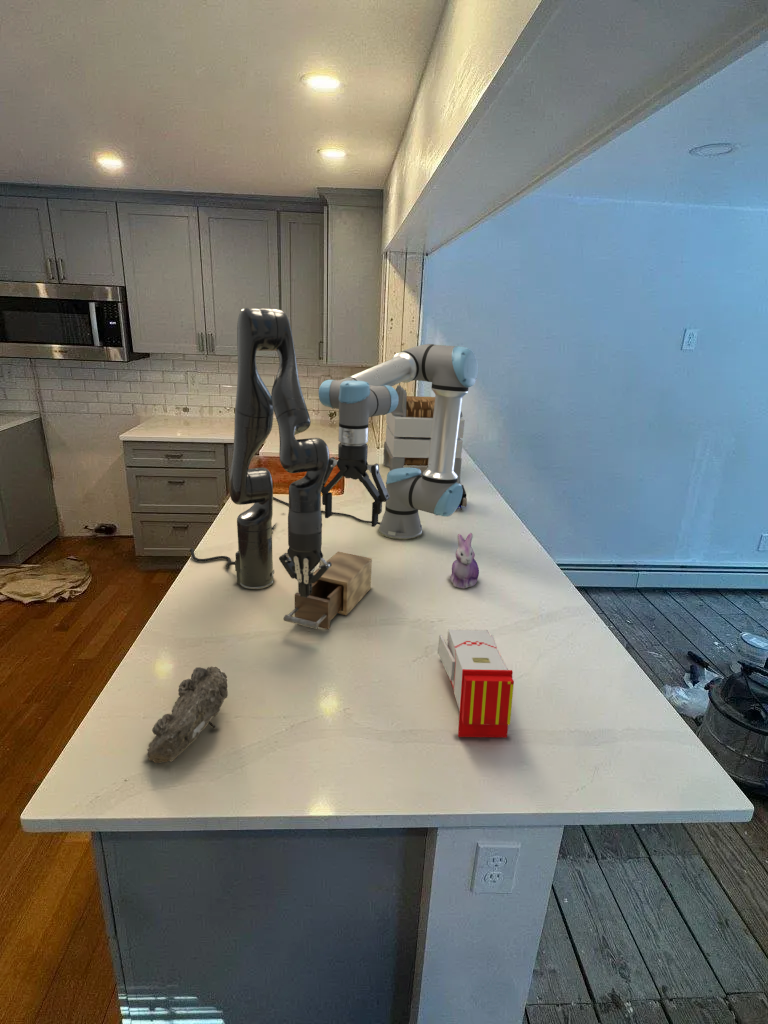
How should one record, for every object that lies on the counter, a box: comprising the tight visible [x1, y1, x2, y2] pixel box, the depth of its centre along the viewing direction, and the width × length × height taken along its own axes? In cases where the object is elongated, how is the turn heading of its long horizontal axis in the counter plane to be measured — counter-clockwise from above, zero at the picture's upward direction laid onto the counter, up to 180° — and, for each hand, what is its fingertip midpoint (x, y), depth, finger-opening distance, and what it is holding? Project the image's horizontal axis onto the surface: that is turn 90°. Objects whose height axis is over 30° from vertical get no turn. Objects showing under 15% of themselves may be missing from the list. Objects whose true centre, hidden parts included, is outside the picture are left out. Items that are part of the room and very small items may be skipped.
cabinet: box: [312, 551, 373, 616], centre depth 153 cm, size 16×10×10 cm, turn 159°
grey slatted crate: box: [383, 384, 465, 484], centre depth 268 cm, size 34×33×41 cm
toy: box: [437, 628, 515, 738], centre depth 117 cm, size 12×13×30 cm
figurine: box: [450, 532, 480, 589], centre depth 164 cm, size 9×10×15 cm
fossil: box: [146, 666, 229, 764], centre depth 104 cm, size 22×10×15 cm
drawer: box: [283, 580, 344, 630], centre depth 141 cm, size 21×9×7 cm, turn 159°
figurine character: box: [457, 484, 468, 511], centre depth 230 cm, size 7×8×15 cm
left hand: (305, 595), depth 133 cm, fingers closed
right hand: (351, 520), depth 152 cm, fingers open, 13 cm apart
